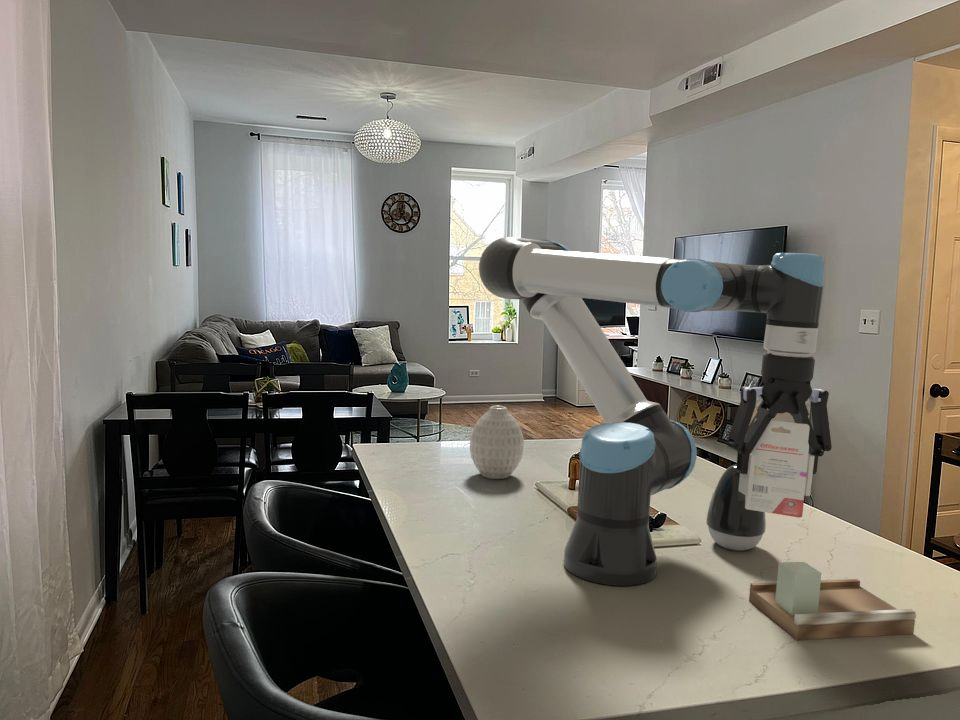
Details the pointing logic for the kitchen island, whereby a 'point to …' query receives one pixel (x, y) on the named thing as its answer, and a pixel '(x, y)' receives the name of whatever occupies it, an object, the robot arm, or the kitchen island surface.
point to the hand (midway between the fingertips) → (774, 493)
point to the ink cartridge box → (780, 470)
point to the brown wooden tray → (836, 612)
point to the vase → (496, 443)
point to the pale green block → (798, 588)
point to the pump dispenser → (733, 515)
